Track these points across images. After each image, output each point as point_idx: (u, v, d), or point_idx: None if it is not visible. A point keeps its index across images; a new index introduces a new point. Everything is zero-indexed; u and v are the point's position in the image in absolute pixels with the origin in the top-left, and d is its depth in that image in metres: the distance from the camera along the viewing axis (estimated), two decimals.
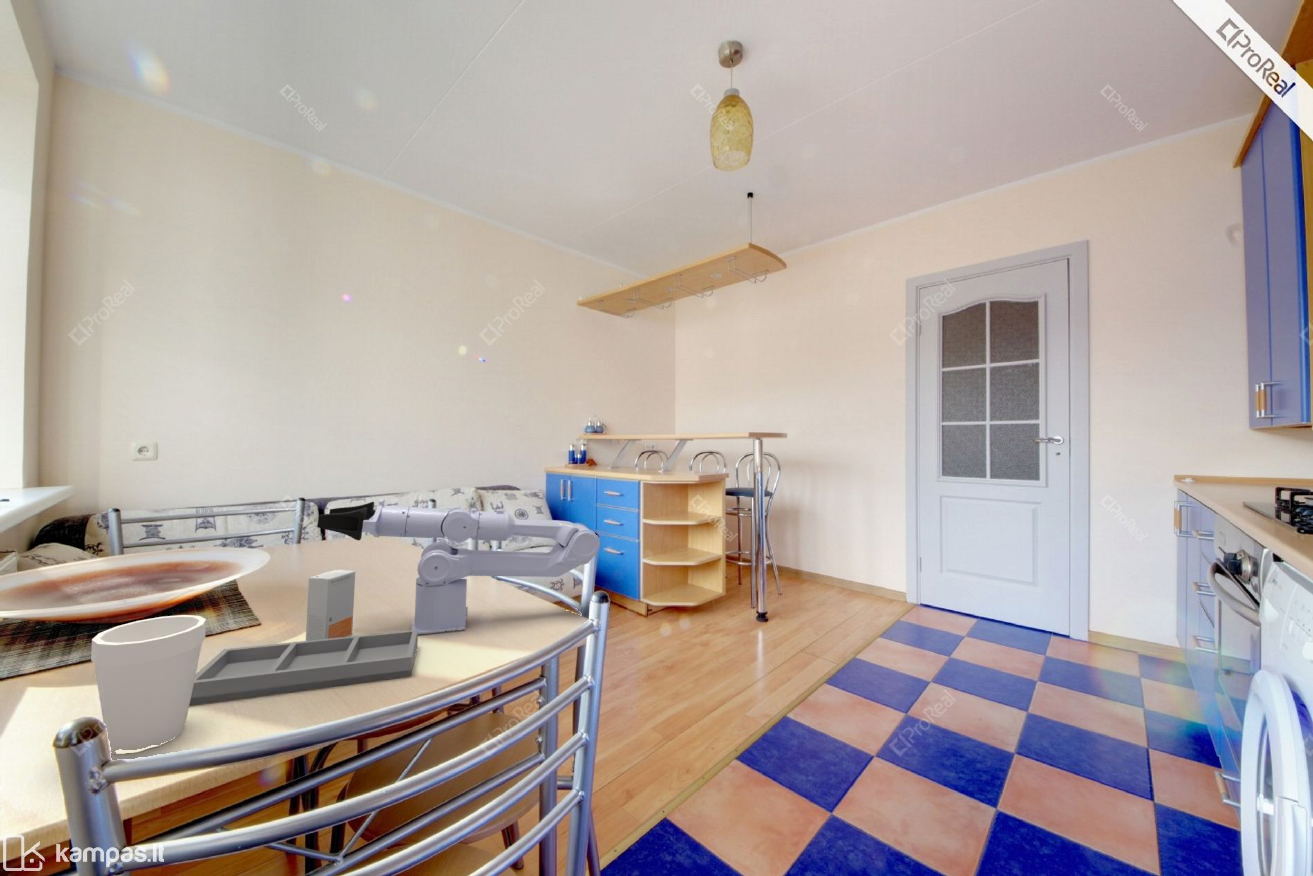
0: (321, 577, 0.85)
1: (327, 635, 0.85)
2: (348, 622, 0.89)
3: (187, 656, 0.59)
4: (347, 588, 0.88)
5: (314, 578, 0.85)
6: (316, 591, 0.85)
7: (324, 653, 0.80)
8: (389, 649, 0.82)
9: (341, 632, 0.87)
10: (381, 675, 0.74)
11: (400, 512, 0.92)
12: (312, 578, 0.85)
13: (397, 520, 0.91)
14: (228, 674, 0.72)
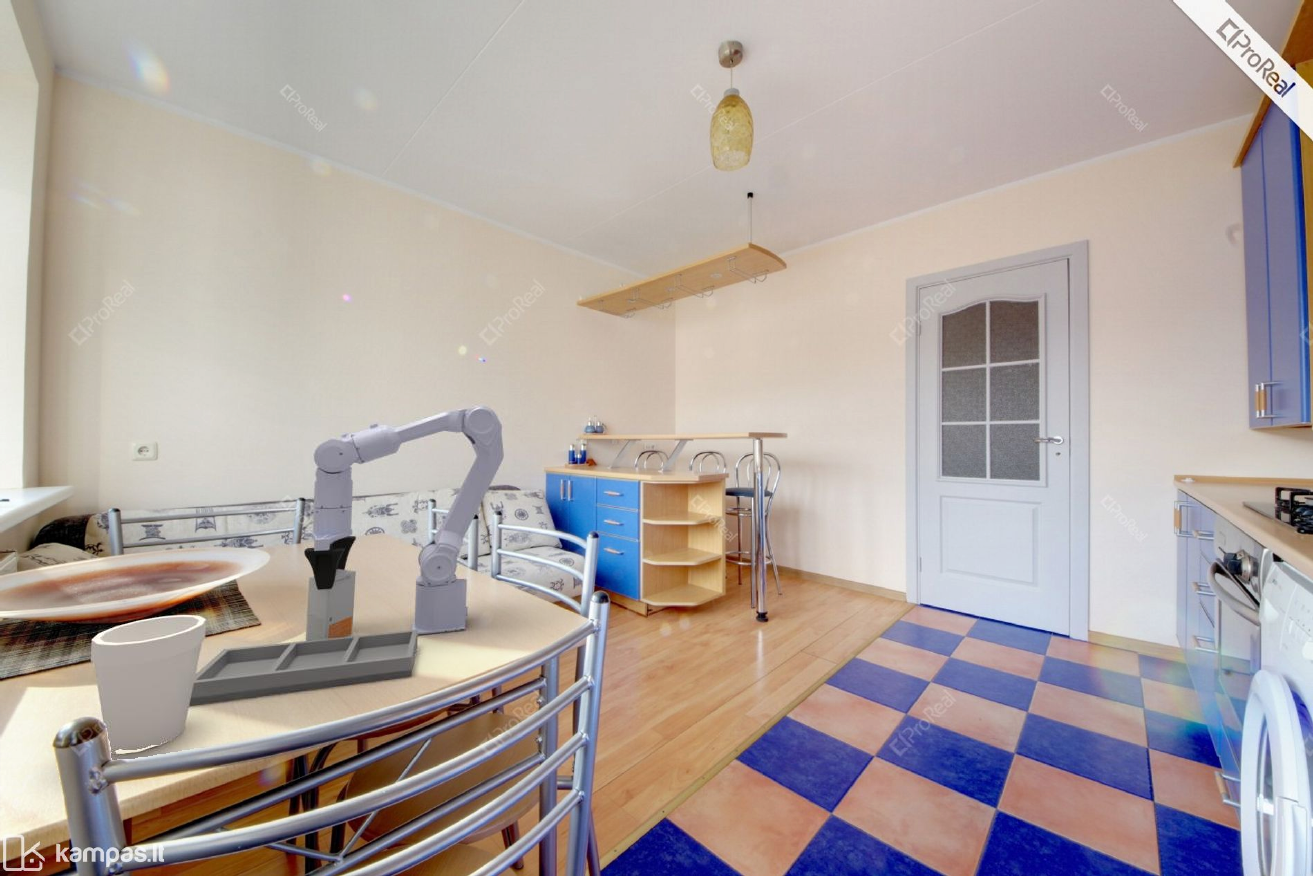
0: None
1: (327, 634, 0.85)
2: (348, 622, 0.89)
3: (187, 656, 0.59)
4: (347, 588, 0.88)
5: (314, 578, 0.85)
6: (316, 591, 0.85)
7: (324, 653, 0.80)
8: (389, 649, 0.82)
9: (341, 632, 0.87)
10: (381, 675, 0.74)
11: (316, 515, 0.85)
12: (313, 578, 0.85)
13: (324, 517, 0.85)
14: (228, 674, 0.72)
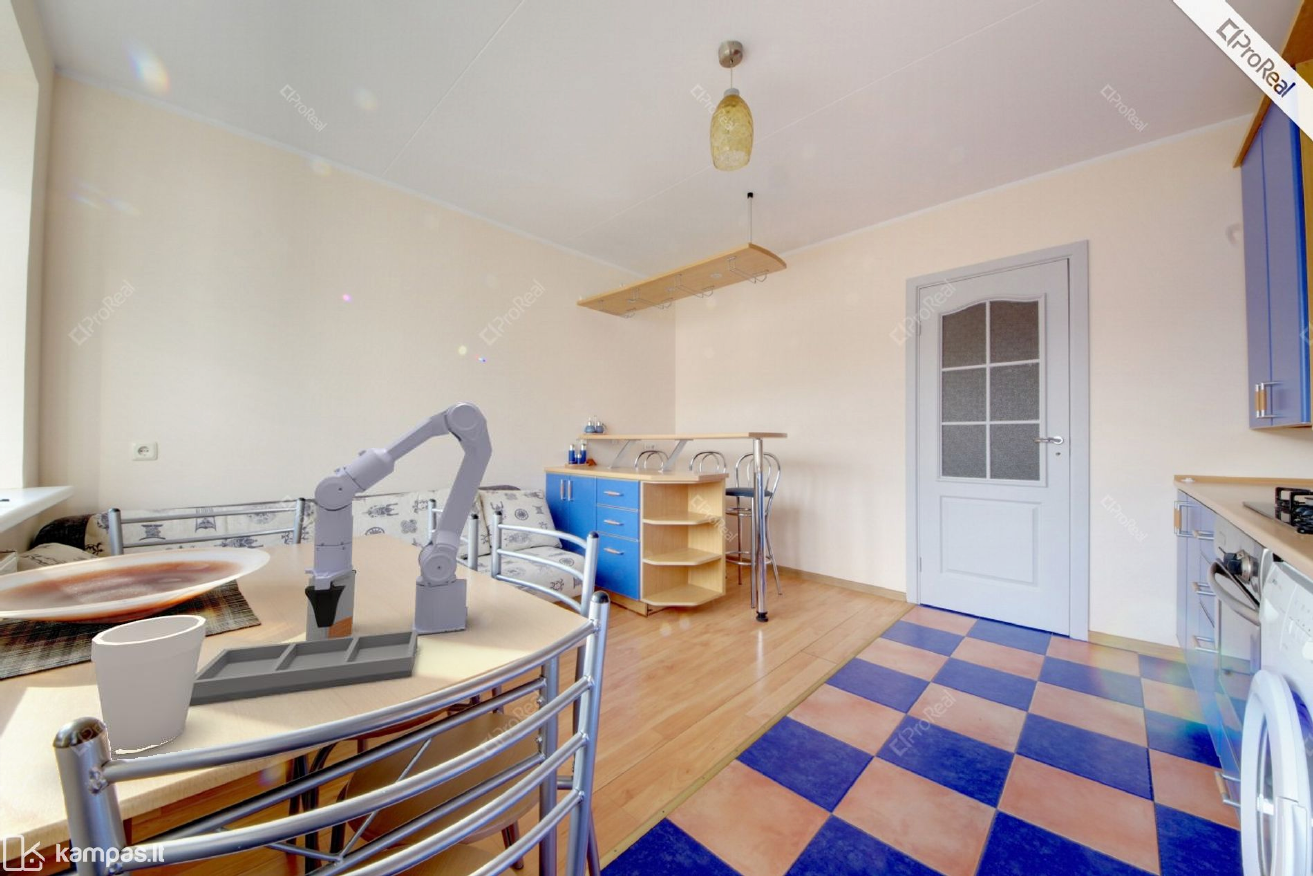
0: None
1: (327, 634, 0.85)
2: (348, 622, 0.89)
3: (187, 656, 0.59)
4: (347, 588, 0.88)
5: (314, 578, 0.85)
6: None
7: (324, 653, 0.80)
8: (389, 649, 0.82)
9: (341, 632, 0.87)
10: (381, 675, 0.74)
11: (317, 552, 0.85)
12: (312, 578, 0.85)
13: (325, 554, 0.85)
14: (228, 674, 0.72)
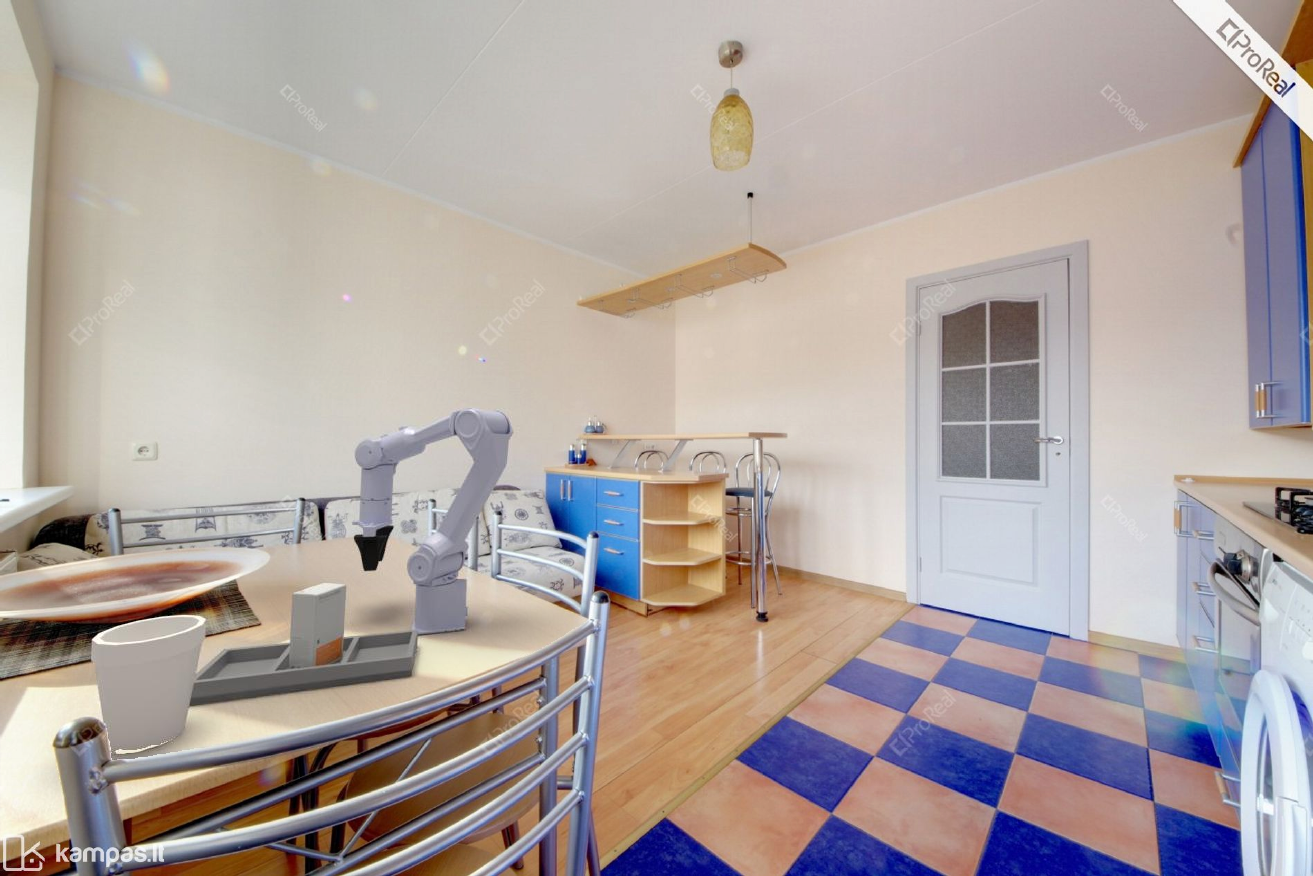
0: (307, 593, 0.74)
1: (315, 659, 0.73)
2: (338, 643, 0.77)
3: (187, 656, 0.59)
4: (337, 604, 0.77)
5: (299, 594, 0.73)
6: (301, 609, 0.73)
7: None
8: (389, 649, 0.82)
9: (330, 655, 0.76)
10: (381, 675, 0.74)
11: (362, 506, 0.97)
12: (297, 594, 0.73)
13: (370, 508, 0.97)
14: (228, 674, 0.72)
